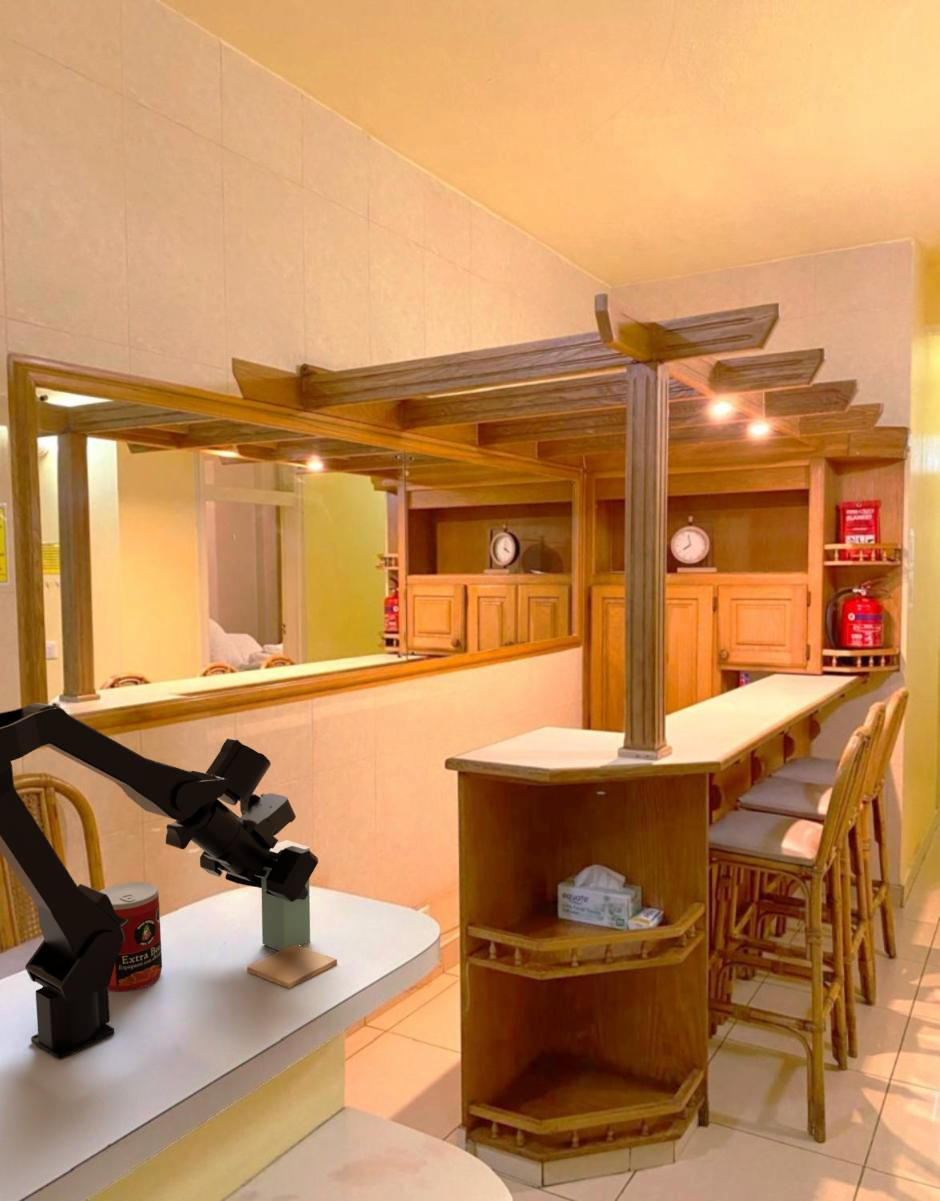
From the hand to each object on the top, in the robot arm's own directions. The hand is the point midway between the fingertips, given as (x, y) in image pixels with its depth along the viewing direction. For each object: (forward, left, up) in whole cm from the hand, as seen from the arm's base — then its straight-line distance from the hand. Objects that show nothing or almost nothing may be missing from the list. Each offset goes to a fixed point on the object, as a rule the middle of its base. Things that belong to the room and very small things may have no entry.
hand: (294, 892), depth 125 cm
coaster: (-6, -6, -7) cm, 11 cm away
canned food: (-19, +9, -7) cm, 23 cm away
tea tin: (-1, 0, -7) cm, 7 cm away
